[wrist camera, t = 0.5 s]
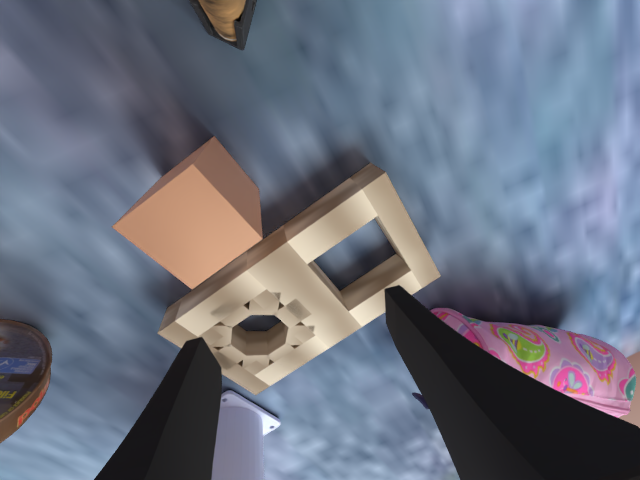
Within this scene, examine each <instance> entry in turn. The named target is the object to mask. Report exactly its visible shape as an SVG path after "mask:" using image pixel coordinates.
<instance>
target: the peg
mask: <svg viewBox="0 0 640 480" xmlns="http://www.w3.org/2000/svg"><path fill="white" fill-rule="evenodd" d="M112 227H113V228H114V229H115V230H116V231H118V232H119V233H120V234H122V235H123V236H124V237H125V238H127V239H128V240H129V241H131V242H132V243H133V244H134V245H136V246H137V247H138V248H139V249H141V250H142V251H143V252H145V253H146V254H147V255H148V256H150V257H151V258H152V259H154V260H155V261H156V262H157V263H159V264H160V265H161V266H163V267H164V268H165V269H166V270H168V271H169V272H170V273H172V274H173V275H174V276H175V277H177V278H178V279H179V280H180V281H182V282H183V283H184V284H186V285H187V286H188V287H189V288H191V289H193V288H195V287H196V286H198V285H199V284H200V283H202V282H203V281H205V280H206V279H207V278H209V277H210V276H212V275H213V274H214V273H216V272H217V271H219V270H220V269H221V268H223V267H224V266H226V265H227V264H228V263H230V262H231V261H233V260H234V259H235V258H237V257H238V256H240V255H241V254H242V253H244V252H245V251H247V250H248V249H249V248H251V247H252V246H254V245H255V244H256V243H258V242H259V241H261V240H262V239H263V236H262V223H261V209H260V196H259V189H258V187H257V186H256V185H255V184H254V183H253V182H252V180H251V179H250V178H249V177H248V176H247V174H246V173H245V172H244V171H243V170H242V168H241V167H240V166H239V165H238V164H237V162H236V161H235V160H234V159H233V158H232V156H231V155H230V154H229V153H228V152H227V151H226V149H225V148H224V147H223V146H222V145H221V143H220V142H219V141H218V140H217V139H216V137H215V136H214V137H212V138H211V139H210V140H208V141H207V142H206V143H205V144H203V145H202V146H201V147H200V148H198V149H197V150H196V151H194V152H193V153H192V154H191V155H189V156H188V157H187V158H185V159H184V160H183V161H182V162H180V163H179V164H178V165H176V166H175V167H174V168H173V169H171V170H170V171H169V172H168V173H166V174H165V175H164V176H162V177H161V178H160V179H159V180H158V181H157V182H156V183H155V184H154V185H153V186H152V187H151V188H150V189H149V190H148V191H147V192H146V193H145V194H144V195H143V196H142V197H141V198H140V199H139V200H138V201H137V202H136V203H135V204H134V205H133V206H132V207H131V208H130V209H129V210H128V211H127V212H126V213H125V214H124V215H123V216H122V217H121V218H120V219H119V220H118V221H117V222H116V223H115V224H114V225H113V226H112Z"/></svg>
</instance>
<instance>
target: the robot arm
mask: <svg viewBox="0 0 640 480" xmlns="http://www.w3.org/2000/svg"><path fill="white" fill-rule="evenodd" d="M384 292H385V311H386V324H387V326H388V329H389V331H390V334H391V336H392V339H393V341H394V343H395V346H396V348H397V350H398V352H399V353H400V355H401V357H402V359H403V361H404V363H405V364H406V366H407V368H408V370H409V372H410V374H411V375H412V377H413V379H414V381H415V383H416V384H417V386H418V388H419V390H420V392H421V394H422V395H423V397H424V399H425V401H426V403H427V405H428V407H429V409H430V411H431V413H432V415H433V417H434V419H435V422H436V424H437V426H438V428H439V431H440V433H441V435H442V437H443V440H444V442H445V444H446V447H447V449H448V451H449V454H450V456H451V458H452V461H453V463H454V465H455V468H456V470H457V472H458V475H459V477H460V480H640V428H639V427H638V426H636V425H633V424H631V423H629V422H626V421H624V420H621V419H619V418H617V417H615V416H612V415H610V414H608V413H605V412H603V411H600V410H598V409H596V408H593V407H591V406H589V405H586V404H584V403H582V402H580V401H578V400H576V399H574V398H572V397H569V396H567V395H565V394H563V393H561V392H559V391H557V390H555V389H553V388H551V387H549V386H547V385H545V384H543V383H542V382H540V381H538V380H536V379H534V378H532V377H530V376H528V375H526V374H524V373H522V372H521V371H519V370H517V369H515V368H513V367H512V366H510V365H508V364H507V363H505V362H503V361H501V360H500V359H498V358H496V357H495V356H493V355H492V354H490V353H488V352H487V351H485V350H483V349H482V348H480V347H479V346H477V345H476V344H474V343H473V342H471V341H470V340H468V339H467V338H466V337H464V336H463V335H461V334H460V333H458V332H457V331H456V330H454V329H453V328H452V327H450V326H449V325H447V324H446V323H445V322H444V321H442V320H441V319H440V318H438V317H437V316H436V315H435V314H433V313H432V312H431V311H430V310H428V309H427V308H426V307H425V306H424V305H422V304H421V303H420V302H419V301H418V300H416V299H415V298H414V297H413V296H412V295H411V294H409V293H408V292H407V291H406V290H405V289H404V288H403V287H402V286H400V285H397V286H393V287H389V288H386V289H384ZM221 390H222V368H221V366H220V365H219V363H218V361H217V360H216V358H215V356H214V355H213V353H212V352H211V350H210V348H209V347H208V345H207V344H206V342H205V340H204V339H203V337H199V338H195V339H191V340H188V341H186V342H185V343H184V345H183V347H182V348H181V350H180V352H179V353H178V355H177V357H176V358H175V360H174V362H173V363H172V365H171V367H170V369H169V370H168V372H167V374H166V375H165V377H164V379H163V380H162V382H161V384H160V385H159V387H158V388H157V390H156V392H155V393H154V395H153V396H152V398H151V400H150V401H149V403H148V404H147V406H146V408H145V409H144V411H143V412H142V414H141V415H140V417H139V418H138V420H137V421H136V423H135V424H134V426H133V427H132V429H131V430H130V432H129V433H128V435H127V436H126V437H125V439H124V440H123V442H122V443H121V444H120V446H119V447H118V449H117V450H116V451H115V453H114V454H113V455H112V457H111V458H110V459H109V461H108V462H107V463H106V465H105V466H104V467H103V469H102V470H101V471H100V473H99V474H98V475H97V476H96V478H95V479H94V480H265V476H264V446H263V436H264V435H266V434H267V433H269V432H270V431H272V430H274V429H275V428H277V427H278V426H280V424H281V423H280V419H278V418H277V417H275V416H273V415H272V414H270V413H268V412H267V411H265V410H263V409H262V408H260V407H258V406H257V405H255V404H253V403H252V402H250V401H248V400H247V399H245V398H244V397H242V396H240V395H239V394H237V393H235V392H234V391H231V390H229V391H226V392H224V393H223V394H221Z"/></svg>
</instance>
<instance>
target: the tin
mask: <svg viewBox="0 0 640 480" xmlns="http://www.w3.org/2000/svg"><path fill="white" fill-rule="evenodd" d="M51 363H52V349H51V345H50V343H49V341H48V339H47V338H46V337H45V336H44V335H43V334H42V333H41V332H40V331H39V330H37V329H35V328H33V327H31V326H29V325H27V324H24V323H21V322H17V321H12V320H5V319H0V443H1V442H3V441H4V440H5V439H7V438H8V437H9V436H11V435H12V434H13V433H14V432H15V431H17V430H18V429H19V428H20V427H21V426H22V425H23V424H24V423H25V421H26V420H27V419H28V418H29V417H30V416H31V415H32V413H33V412H34V411H35V410H36V408H37V407H38V406H39V404H40V403H41V401H42V399H43V398H44V396H45V394H46V392H47V389H48V386H49V383H50V375H51Z"/></svg>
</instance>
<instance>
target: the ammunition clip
mask: <svg viewBox="0 0 640 480" xmlns="http://www.w3.org/2000/svg"><path fill="white" fill-rule="evenodd" d="M189 1H190V3H191V4H192V6H193V8H194V10H195V11H196V13H197V15H198V17H199V18H200V20H201V22H202V24H203V25H204V27H205V29H206V31H207V32H208V34H209V35H211V36H213V37H215V38H218V39H220V40H222V41H224V42H226V43H228V44H230V45H232V46H234V47H236V48H238V49H240V50H244V48H245V44H246V40H247V37H248V33H249V29H250V25H251V21H252V17H253V13H254V9H255V6H256V2H257V0H189Z"/></svg>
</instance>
